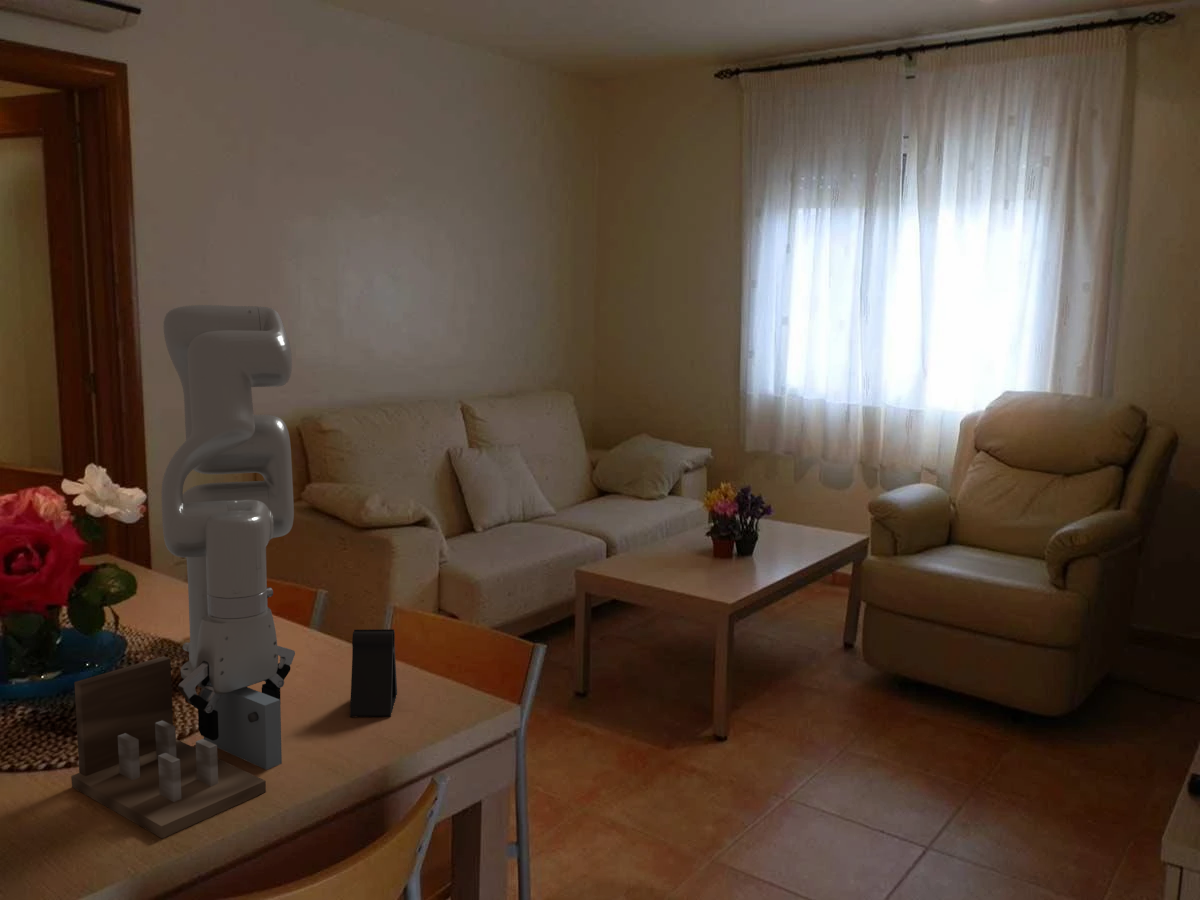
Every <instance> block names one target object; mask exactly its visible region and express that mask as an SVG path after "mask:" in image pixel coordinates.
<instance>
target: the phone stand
mask: <svg viewBox="0 0 1200 900" xmlns="http://www.w3.org/2000/svg"><path fill="white" fill-rule="evenodd" d="M395 633H396V632H395V629H393V628H392V629H353V632H352V637H351V638H352V640H351V642H352V644H351V645H352V656H351V657H352V659H351V679H350V681H351V682H350V705H349V706H350V707H349V717H350V718H391V717H392V714H391V713H393V709H394V707H395V704H394V703H396V700H395V699H397V697H396V695H397V696H398V686H397V684H398V683H397V682H398V681H397V667H396V665H397V664H396V661H397V660H396V648H395V647H396V645H395V641H396V640H395V637H396V635H395ZM393 706H394V707H393Z"/></svg>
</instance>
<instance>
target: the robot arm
mask: <svg viewBox="0 0 1200 900" xmlns="http://www.w3.org/2000/svg"><path fill="white" fill-rule="evenodd" d="M162 326H163V335H164V341H165V345H166V348H167V351H168V355H169V357H170V360H171V361H172V364H173V366H174V369H175V371H176V372H177V375H178V378H179V379H180V384H181V386H182V392H183V399H184V400H183V401H184V402H183V403H184V405H183V406H184V425H185V426H184V427H185V428H184V429H185V441H184V443H183V444H181V446H179V448H178V449H177V450H176V451H175V453H174V454H173V456H172V457H171V459H170V460H169V462H168V464H167V466H166V469H165V472H164V475H163V477H162V478H163V479H162V482H161V512H162V513H161V515H162V516H161V517H162V519H161V520H162V533H163V540H164V544H165V546H166V549H167V550H168V552H169V553H170V554H172V555H173V556H175V557H177V558H178V557H179V558H185V559H186V569H187V571H186V572H187V590H188V592H187V593H188V595H187V597H188V615H189V619H188V620H189V642H184V643H183V645H182V649H183V650H184V651H186V652H188V658H189V660H188V661H186V662H185V663H184V664H183V665H182V666H181V667H180V676H181V678H182V681H180V682H179V683H178V687H177V688H178V690H179V692H180V694H181V695H182V696H183V697H184V700H185V702H187V703H188V704H189V705H192V706H193V707H194V708H195V709H197V718H198V719H197V721H198V731H199V734H200V736H202V737H203V738H204V737H206V738H208V739H210V740H212V741H214V740H217V739H218V737H219V733H218V712H217V711H216V710H213V709H214V707H215V706H216V704H217V702H218V701H219V699H220V697H221V696H222V694H226V693H230V692H233V691H236V690H239V689H242V688H245V687H248V688H249V687H251V686H253V685H256V684H258V683H262V682H264V683H263V684H262V685H261V693H264V694H266V695H269V696H272V697H274V698H277V699H279V700H280V706H281V704H282V703H281V689H282V688H283V687H284V685H285V679H286V677H287V676H288V674H289V673H290V671H291V665H292V664H293V660H294V658H295V655H296V651H295V650H294V649H291V648H288V647H283V646H280V645H278V638H277V637H278V636H277V633H276V632H277V630H276V625H275V620H274V617H273V613H272V609H271V608H270V607H268V598H271V597H273V595H274V590H273V588H272V587H270V586H269V587H268V585H267V583H268V582H267V546H268V544H269V542H270V540H272V539H275V538H279V537H283V536H286V535H288V534H289V533H290V532H291V530H292V528H293V526H294V525H293V524H294V518H295V509H294V508H295V507H294V505H295V503H294V485H293V466H292V465H293V464H292V449H291V439H290V432H289V429H288V426H287V424H286V422H284V420H283V419H282V418H280V417H279V416H276V415H270V414H254V406H253V404H254V403H253V395H252V388H266V387H267V388H271V387H273V388H274V387H275V388H277V387H284V386H286V384H287V383H288V382H289V380H290V378H291V375H292V369H293V355H292V349H291V345H290V340H289V337H288V333H287V331H286V329H285V325H284V323H283V320H282V318H281V315H280V314H279V312H278V311H277V310H275V309H274V308H272V307H267V306H253V305H252V306H250V305H249V306H246V305H244V306H243V305H221V304H220V305H219V304H218V305H217V304H216V305H212V304H204V305H203V304H194V305H193V304H192V305H183V306H177V307H175V308H172V309H171V310H169V311H168V312H167V313H166V314H165V316H164V319H163V325H162ZM192 471H194V472H197V473H199V474H203V475H229V474H230V475H232V474H234V475H235V474H255V473H257V474H260V475H261V476H262V477H263V479H264V480H256V481H255V480H254V481H253V480H251V481H228V482H227V481H226V482H223V481H222V482H209V483H203V484H202V483H201V484H199V485H195V486H193V487H190V488H188V489H186V491H184V484H185V482H186V479H187V477H188V475H189V474H190V473H191V472H192ZM183 491H184V492H183ZM279 657H280V658H279ZM197 686H198V687H199V688H201V690H200V691H199V693H197V690H196V687H197ZM211 692H212V693H211ZM210 693H211V695H210ZM209 695H210V697H209ZM208 697H209V698H208ZM207 698H208V700H207ZM206 700H207V701H206Z"/></svg>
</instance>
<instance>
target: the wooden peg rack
mask: <svg viewBox="0 0 1200 900" xmlns="http://www.w3.org/2000/svg"><path fill="white" fill-rule="evenodd" d="M171 662H172V661H171V658H170V657H167V656H165V655H163V656H160V657H156V658H153V659H149V660H146V661H142V662H140V663H135V664H132V665H129V666H125V667H122V668H119V669H115V670H112V671H108V672H104V673H102V674H98V675H94V676H91V677H87V678H83V679H80V680H76V681H74V695H75V696H74V698H75V717H76V718H75V719H76V720H75V721H76V733H77V735H76V737H77V749H78V750H77V751H78V753H77V754H78V773H75V774H72V775H71V787H72V789H75V790H76V791H78V792H80V793H81V794H83V795H85V796H87V797H88V798H90V799H93V801H96V802H97V803H99V804H101V805H102V806H105V807H107V808H108V809H110V810H111V811H114V812H115V813H117V814H118V815H120V816H122V817H124V818H125V819H127V820H128V821H131V822H132V821H133V822H132V823H134V824H136V825H138V826H139V827H141V828H143V829H144V830H147V831H148V832H150V833H151V834H154V835H155V836H157V837H158V838H159V839H160V838H161V839H164V838H167V837H168V836H171V835H174V834H175V833H177V832H180V831H183V830H184V829H187V828H189V827H190V826H194V825H196V824H197V823H198V824H199V823H200V822H202V821H204V820H207V819H208V818H209V819H210V818H211V817H213V816H215V815H218V814H219V813H222V812H224V811H227V810H228V809H231V808H234V807H235V806H237V805H240V804H242V803H245V802H247V801H250V799H253V798H255V797H257V796H261V795H262V794H264V793H266V792H267V789H266V787H267V786H266V785H267V784H266V780H265V779H263V778H261V777H260V776H259V777H258V776H256V775H254V774H252V773H250V772H248V771H246V770H243V769H241V768H239V767H238V766H235V765H233V764H231V763H228V762H227V761H225V760H222V759H220V758H218V748H217V745H215V744H213V743H211V742H209V741H206V740H204V738H202V739H198V740H196V741H195V747H194V746H193V745H190V744H188V743H185V742H184V741H181V740H178V739H177V738H176V736H177V733H176V726H175V725H174V717H173V716H174V715H173V692H172V690H173V689H172V669H171V667H172V665H171Z"/></svg>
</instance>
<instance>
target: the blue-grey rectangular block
mask: <svg viewBox="0 0 1200 900" xmlns="http://www.w3.org/2000/svg"><path fill="white" fill-rule="evenodd" d="M211 693H212V692H211ZM211 693H210V695H211ZM210 695H209V697H210ZM209 697H208V698H209ZM208 698H207V700H208ZM207 700H206V701H207ZM280 701H281V699H280V700H279V699H277V698H274V697H272V696H269V695H266V694H264V693H262V691H258V690H256V689H253V688H250V687H249V686H248V687H245V688H242V689H239V690H236V691H233V692H230V693H226V694H222V696H221V697H220V699H219V701H218V702H217V704H216V706H215V707H214V709H213V710H216V711H217V712H218V733H219V737H218V739H217V740H214V741H212V740H210V739H208V738H206V737H204V736H203V739H204V740H206V741H209V742H211V743H213V744H215V745H217V749H219V750H221V751H224V752H226V753H228V754H231V755H233V756H236V757H237V758H239V759H241V760H244V761H246V762H248V763H250V764H252V765H255V766H257V767H260V768H262V769H264V770H265V771H268V770H270V769H272V768H274V767H277V766H279V765H282V763H283V760H282V759H283V757H282V717H281V715H282V714H281V713H282V711H281V705H280Z"/></svg>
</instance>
